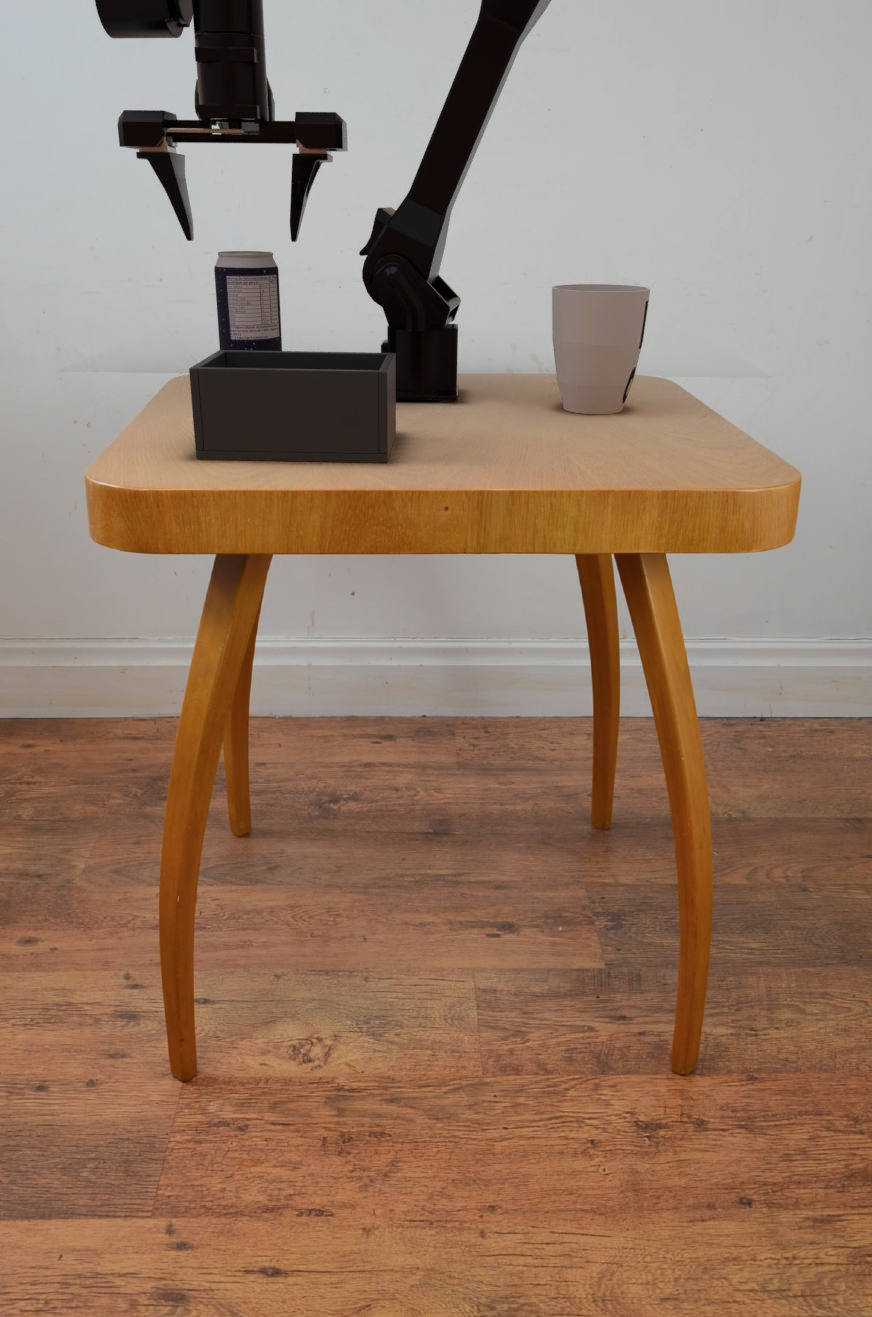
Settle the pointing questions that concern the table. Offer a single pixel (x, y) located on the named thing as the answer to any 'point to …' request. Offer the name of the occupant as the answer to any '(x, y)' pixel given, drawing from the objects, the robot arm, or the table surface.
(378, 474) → the table surface
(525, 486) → the table surface
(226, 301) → the beverage can
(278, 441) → the open storage box
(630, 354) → the cup
